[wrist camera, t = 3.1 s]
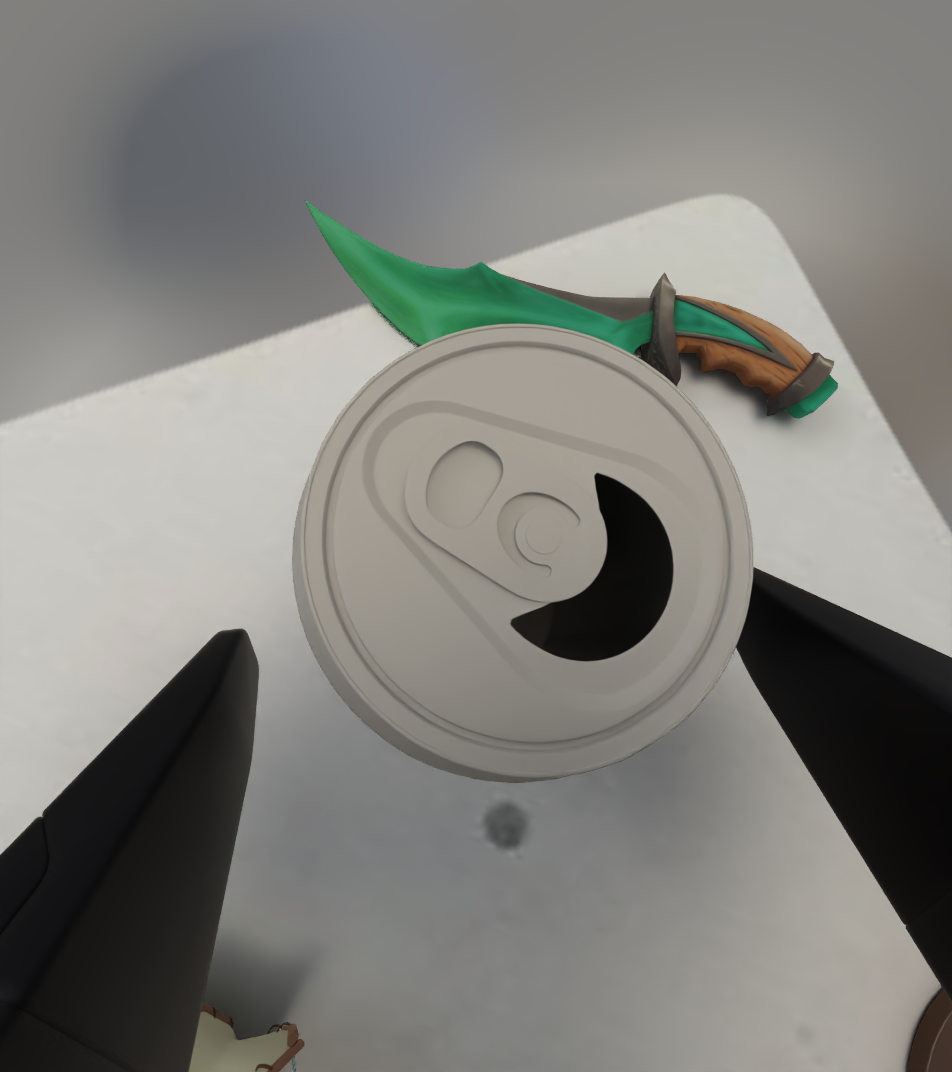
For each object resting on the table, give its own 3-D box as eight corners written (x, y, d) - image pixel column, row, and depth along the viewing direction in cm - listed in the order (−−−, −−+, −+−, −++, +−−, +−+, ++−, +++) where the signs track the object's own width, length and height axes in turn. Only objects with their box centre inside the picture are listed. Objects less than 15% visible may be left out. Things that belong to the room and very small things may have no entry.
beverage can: (490, 731, 17) (653, 938, 5) (327, 630, 17) (138, 618, 5) (579, 570, 19) (862, 458, 7) (429, 477, 19) (453, 206, 7)
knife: (808, 442, 21) (824, 326, 21) (842, 428, 19) (858, 301, 19) (282, 332, 20) (311, 214, 20) (266, 306, 18) (298, 178, 19)
